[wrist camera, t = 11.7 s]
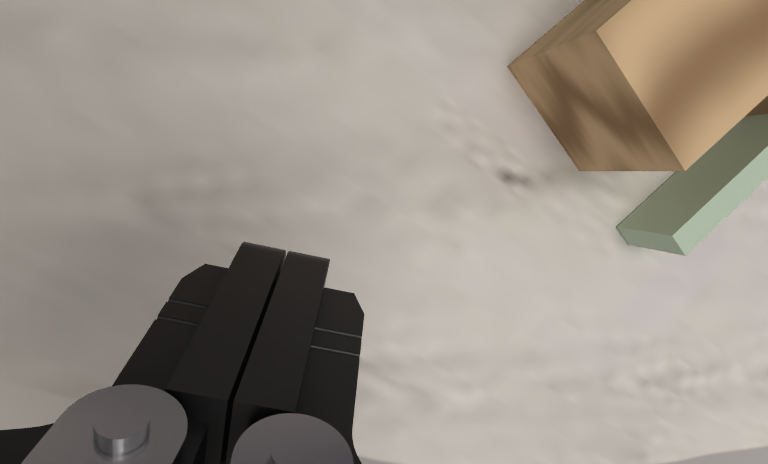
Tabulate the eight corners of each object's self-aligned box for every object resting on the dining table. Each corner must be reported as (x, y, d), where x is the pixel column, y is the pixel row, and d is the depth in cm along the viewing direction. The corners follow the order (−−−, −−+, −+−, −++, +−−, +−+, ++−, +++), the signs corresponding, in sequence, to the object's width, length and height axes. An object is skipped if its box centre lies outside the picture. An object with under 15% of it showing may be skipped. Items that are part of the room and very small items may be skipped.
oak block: (506, 66, 34) (595, 30, 25) (624, -34, 35) (749, -102, 26) (578, 170, 36) (685, 171, 27) (688, 72, 37) (825, 42, 28)
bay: (435, -32, 32) (468, -68, 27) (595, -162, 33) (653, -218, 29) (628, 244, 37) (685, 255, 32) (760, 121, 38) (834, 114, 33)
